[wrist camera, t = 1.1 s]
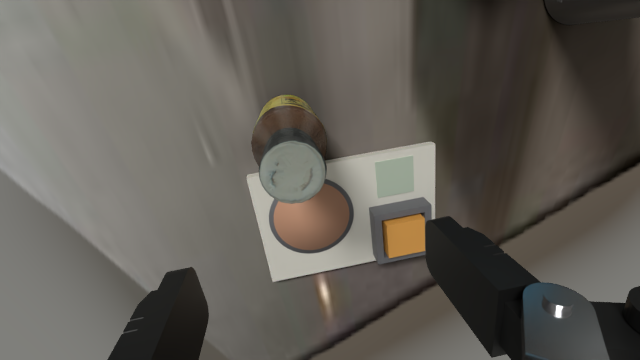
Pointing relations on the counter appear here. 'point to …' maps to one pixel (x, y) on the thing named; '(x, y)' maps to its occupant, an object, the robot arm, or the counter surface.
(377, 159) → the white control panel
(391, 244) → the button
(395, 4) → the counter surface
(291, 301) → the counter surface
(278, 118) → the sauce bottle
